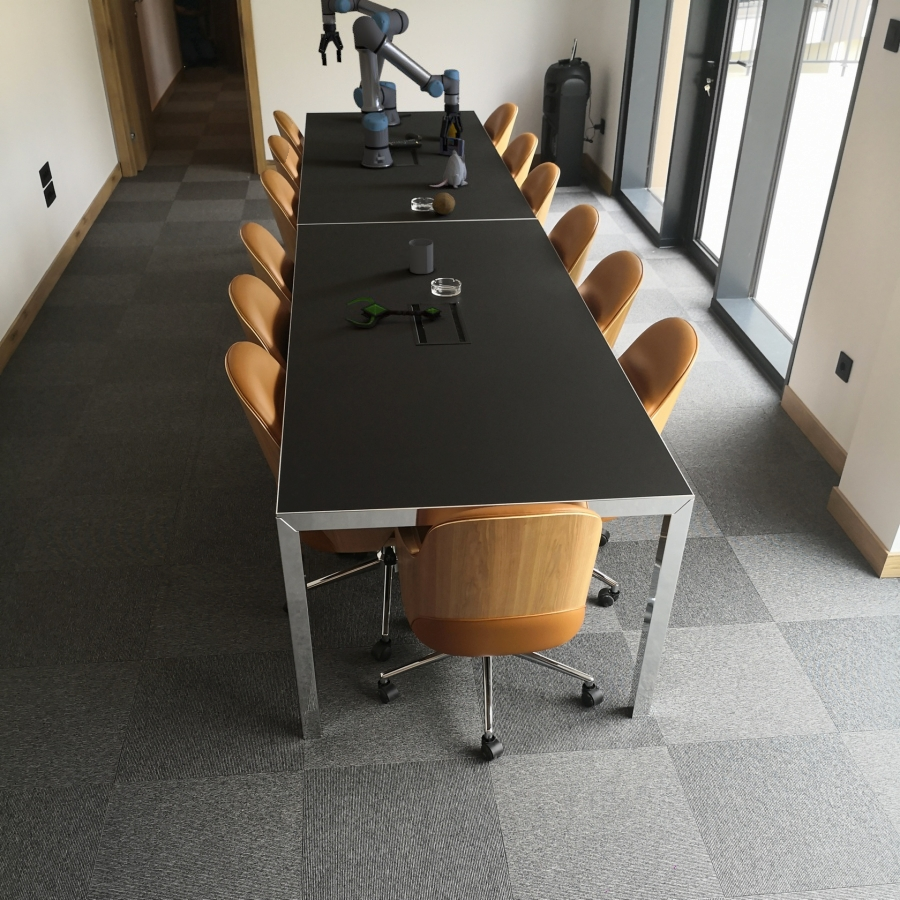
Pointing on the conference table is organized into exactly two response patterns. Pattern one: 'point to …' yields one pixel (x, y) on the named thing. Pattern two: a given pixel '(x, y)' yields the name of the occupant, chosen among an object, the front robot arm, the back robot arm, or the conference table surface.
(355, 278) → the conference table surface
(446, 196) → the potato
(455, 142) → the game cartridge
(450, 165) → the toy
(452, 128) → the apple
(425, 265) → the cup
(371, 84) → the front robot arm
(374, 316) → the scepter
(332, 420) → the conference table surface
